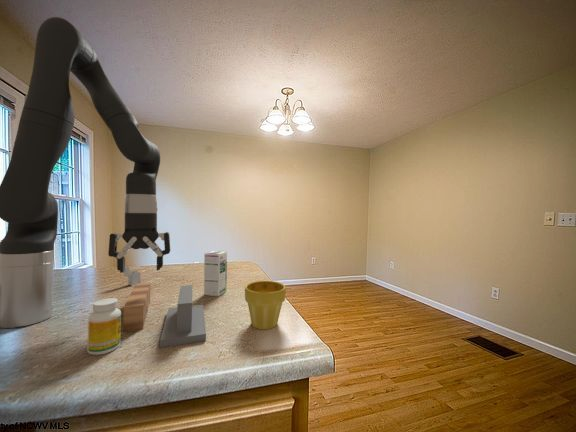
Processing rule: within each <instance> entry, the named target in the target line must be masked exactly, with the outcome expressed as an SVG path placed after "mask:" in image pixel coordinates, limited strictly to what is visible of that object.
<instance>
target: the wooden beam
mask: <svg viewBox="0 0 576 432" xmlns="http://www.w3.org/2000/svg"><path fill="white" fill-rule="evenodd" d="M151 286H152V283H151V282H142V283H141V282H140V283H139V284H135V285H133V288H132V289H131V292H130V294H129V297H128V298H127V300H126V302H125V304H124V306H123V310H122V311H123V312H122V313H123V315H122V316H123V317H122V321H123V322H122V332H123V333H127V332H132V331H140V330H143V329H144V327H145V322H146V319H147V314H148V310H149V307H150V303H151Z"/></svg>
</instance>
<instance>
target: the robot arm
mask: <svg viewBox="0 0 576 432" xmlns="http://www.w3.org/2000/svg"><path fill="white" fill-rule="evenodd" d="M71 73H72V75H73V76H75V77H76V78H77V80H78V81H79V82H80V83H81V84H82V85H83V86H84V88H85V89H86V91H87V92H88V94H89V96H90V98H91V101H92V104H93V107H94V108H95V110H96V112H97V113H98V115H99V117H100V118H101V119H102V121H103V122H104V124H105V125H106V127H107V128H108V129H109V131H110V132H111V135H112V137H113V140H114V142H115V145H116V146H117V148H118V150H119V151H120V153H121V154H122V155H123V156H124V158H126V159H127V160H128V161H130V162H132V163H134V164H133V165H134V166H133V170H132V172H130V173H129V172H128V173H127V174H126V179H125V198H124V232H123V233H117V232H113V233H110V235H109V239H108V241H109V242H108V253H107V254H108V256H109V257H113V258H115V259H116V260H117V261H116V269H117V271H119V273H121V274H122V273H123V272H124V271H125V265H126V255H127V253H128V252H129V251H130V250H131V249H133V250H139V249H142V250H148V249H151V250H152V251H153V252H154V253H155V254H156V255H157V256H156V271H161V269H162V268H163V267H164V266H163V265H164V256H166V255H168V254H170V252H171V240H170V239H171V237H170V232H168V231H166V232H158V204H157V203H158V202H157V177H158V173H159V170H160V164H161V152H160V150H159V147H158V146H157V145H156V143H153V141H150V140H149V139H147V138H146V137H144V135H143V134H142V133H141V130H140V129H139V128H140V127H139V123H138V121H137V119H136V118H135V116H134V114H133V113H132V111H131V110H130V109H129V106H127V104H126V103H125V102H124V100H123V99H122V97H121V96H120V95H119V93H118V92H117V91H116V89H115V88H114V86H113V84H112V83H111V82H110V80H109V78H108V76H107V74H106V72H105V70H104V68H103V65H102V63H101V62H100V59H99V56H98V55H97V53H96V51H95V49H94V47H93V46H92V45H91V44H90V43H89V41H88V40H87V39H86V37H84V35H83V34H82V33H81V32H80V31H79V29H77V28H76V26H74V25H73V24H72V23H71V22H69V20H67V19H66V18H63V17H59V16H52V17H49V18H47V19H46V20H44V21H43V22H42V23H41V24H40V26H39V28H38V30H37V34H36V40H35V50H34V58H33V67H32V73H31V77H30V81H29V86H28V90H27V94H26V98H25V102H24V104H23V107H22V111H21V114H20V118H19V121H18V127H17V131H16V136H15V138H14V139H15V140H14V142H13V147H12V153H11V157H10V161H9V163H8V166H7V169H6V172H5V174H4V176H3V178H2V180H1V183H0V219H1V220H2V221H4V222H6V223H7V231H6V233H5V236H4V237H3V239H1V241H0V328H1V329H2V328H3V329H13V328H20V327H25V326H30V325H34V324H37V323H40V322H43V321H46V320H47V319H49V318H51V317H52V316H53V309H54V308H53V306H54V305H53V302H54V301H53V300H54V299H53V297H54V294H53V292H54V253H55V252H54V248H55V241H56V239H57V235H58V225H59V224H58V222H59V221H58V220H59V219H58V218H59V204H58V201H57V199H56V198H55V196H54V195H53V194H52V193H50V192H49V188H50V181H51V176H52V173H53V171H54V168H55V166H56V165H57V163H58V162H59V160H60V159H61V157H62V155H63V154H64V153H65V151H66V149H67V148H68V145H69V143H70V140H71V136H72V133H73V129H74V124H75V110H74V105H73V100H72V95H71V90H70V74H71ZM158 238H160V239H161V241H163V242H164V249H163V250H162V249H161V247H160V246H159V245H158V244H157V242H156V241H157V240H158ZM121 239H122V240H124V242H125V243H126V244H125V246H123V247H122V249H121V250H120V251H118V250H117V249H118V242H120V241H121Z"/></svg>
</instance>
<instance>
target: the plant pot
mask: <svg viewBox="0 0 576 432" xmlns="http://www.w3.org/2000/svg"><path fill="white" fill-rule="evenodd" d="M286 290H287V289H286V285H284V283H282V282H278V281H276V280H275V281H274V280H257V281H253V282H250V283H247V284H246V285H245V287H244V301H246V303H247V307H248V313H249V318H250V322H251V323H250V324H251V326H252V327H253V328H255V329H258V330H270V328H271V329H273V328H275V327H276V326H277V325H278V322H279V318H280V314H281V310H282V306H283V303H284V302H285V299H286V292H287V291H286Z"/></svg>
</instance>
